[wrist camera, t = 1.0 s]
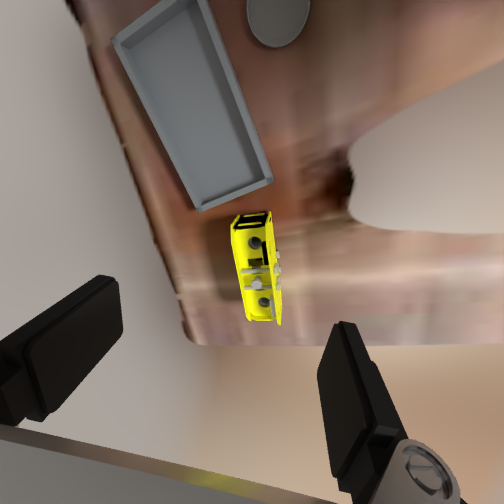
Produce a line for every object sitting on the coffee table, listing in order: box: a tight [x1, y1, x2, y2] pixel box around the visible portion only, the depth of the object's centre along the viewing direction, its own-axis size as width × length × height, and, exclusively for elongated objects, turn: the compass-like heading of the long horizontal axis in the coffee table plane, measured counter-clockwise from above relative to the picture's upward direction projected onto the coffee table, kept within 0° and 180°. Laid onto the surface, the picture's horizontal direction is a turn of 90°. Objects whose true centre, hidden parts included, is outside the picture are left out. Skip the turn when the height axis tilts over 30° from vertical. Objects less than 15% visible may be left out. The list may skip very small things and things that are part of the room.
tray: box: [110, 0, 275, 213], centre depth 30 cm, size 12×22×2 cm, turn 23°
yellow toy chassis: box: [231, 211, 282, 326], centre depth 35 cm, size 16×6×8 cm, turn 9°
